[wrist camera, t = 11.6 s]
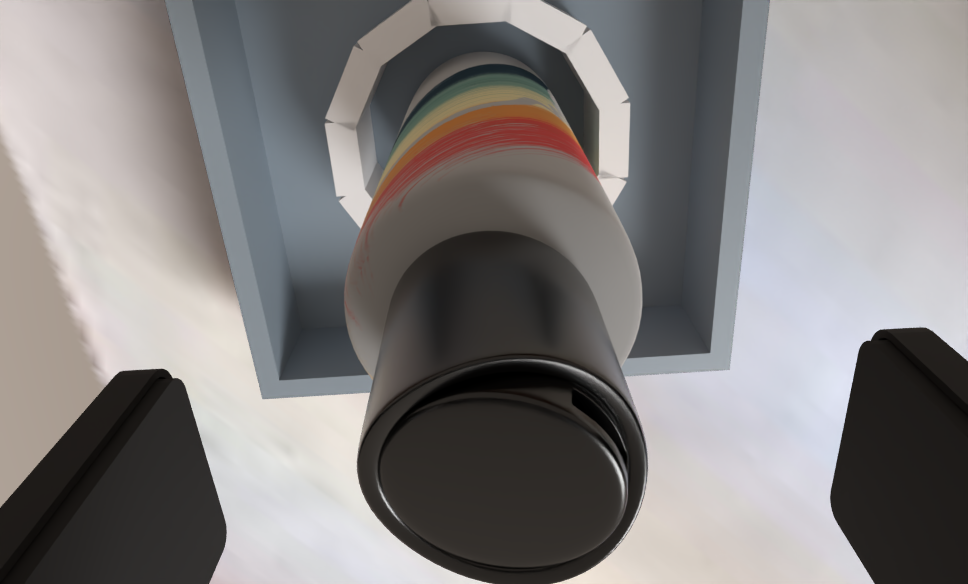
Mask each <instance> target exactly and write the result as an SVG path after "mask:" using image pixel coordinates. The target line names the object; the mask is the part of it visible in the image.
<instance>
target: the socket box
mask: <svg viewBox="0 0 968 584" xmlns="http://www.w3.org/2000/svg"><path fill="white" fill-rule="evenodd" d="M165 3H166V7H167V12H168V16H169V20H170V24H171V28H172V32H173V36H174V40H175V44H176V48H177V52H178V56H179V60H180V65H181V69H182V73H183V77H184V81H185V85H186V89H187V93H188V97H189V101H190V105H191V109H192V113H193V118H194V122H195V126H196V130H197V134H198V138H199V142H200V146H201V150H202V154H203V158H204V162H205V166H206V171H207V175H208V179H209V183H210V187H211V191H212V195H213V199H214V203H215V207H216V211H217V215H218V219H219V224H220V228H221V232H222V236H223V240H224V244H225V248H226V252H227V256H228V260H229V264H230V268H231V273H232V277H233V281H234V285H235V289H236V293H237V297H238V301H239V305H240V309H241V313H242V317H243V321H244V326H245V330H246V334H247V338H248V342H249V346H250V350H251V354H252V358H253V362H254V366H255V370H256V374H257V379H258V383H259V387H260V391H261V395H262V399H274V398H290V397H306V396H322V395H338V394H353V393H369V392H370V391H371V387H372V382H373V380H372V378H371V377H370V376H369V374H368V373H367V372H366V370H365V369H364V367H363V365H362V364H361V362H360V360H359V359H358V357H357V354H356V352H355V350H354V348H353V345H352V342H351V340H350V337H349V333H348V329H347V324H346V317H345V305H344V291H345V281H346V275H347V271H348V266H349V263H350V259H351V256H352V253H353V250H354V247H355V244H356V241H357V238H358V235H359V233H360V230H361V227H362V225H363V222H364V219H365V217H366V214H367V212H368V209H369V207H370V204H371V201H372V199H373V196H374V194H375V191H376V189H377V186H378V184H379V181H380V179H381V176H382V174H383V171H384V169H385V166H386V164H387V161H388V158H389V156H390V153H391V151H392V148H393V146H394V143H395V141H396V138H397V136H398V133H399V131H400V128H401V126H402V123H403V120H404V118H405V115H406V113H407V110H408V108H409V106H410V104H411V101H412V99H413V97H414V95H415V93H416V92H417V90H418V88H419V87H420V85H421V84H422V82H423V81H424V80H425V79H426V78H427V77H428V75H429V74H430V73H432V72H433V71H434V70H435V69H436V68H437V67H439V66H440V65H441V64H443V63H445V62H446V61H448V60H450V59H452V58H454V57H457V56H460V55H463V54H467V53H472V52H495V53H500V54H504V55H507V56H510V57H512V58H515V59H517V60H518V61H520V62H522V63H524V64H525V65H526V66H528V67H529V68H531V69H532V70H533V71H534V72H535V73H536V74H537V75H538V76H539V77H540V78H541V79H542V80H543V82H544V83H545V84H546V86H547V87H548V88H549V90H550V92H551V93H552V95H553V96H554V98H555V100H556V102H557V104H558V105H559V107H560V109H561V111H562V113H563V115H564V117H565V118H566V120H567V122H568V124H569V126H570V128H571V130H572V131H573V133H574V135H575V137H576V139H577V141H578V143H579V144H580V146H581V148H582V150H583V152H584V154H585V156H586V157H587V159H588V161H589V163H590V165H591V167H592V169H593V170H594V172H595V174H596V176H597V178H598V180H599V182H600V183H601V185H602V187H603V189H604V191H605V193H606V195H607V197H608V198H609V200H610V202H611V204H612V206H613V208H614V210H615V212H616V214H617V216H618V218H619V220H620V222H621V224H622V226H623V228H624V230H625V232H626V234H627V236H628V238H629V240H630V243H631V245H632V247H633V250H634V253H635V256H636V258H637V262H638V266H639V270H640V276H641V283H642V314H641V320H640V325H639V330H638V333H637V336H636V339H635V342H634V344H633V347H632V349H631V351H630V353H629V355H628V357H627V359H626V360H625V362H624V364H623V365H622V367H621V369H622V372H623V375H624V376H639V375H655V374H671V373H687V372H703V371H719V370H730V361H731V352H732V342H733V333H734V324H735V315H736V306H737V297H738V287H739V278H740V269H741V260H742V251H743V241H744V232H745V223H746V214H747V205H748V195H749V186H750V177H751V168H752V159H753V150H754V140H755V131H756V122H757V113H758V104H759V94H760V85H761V76H762V67H763V58H764V49H765V39H766V30H767V21H768V12H769V3H770V0H165Z"/></svg>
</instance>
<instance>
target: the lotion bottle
mask: <svg viewBox="0 0 968 584" xmlns="http://www.w3.org/2000/svg"><path fill="white" fill-rule="evenodd" d="M344 305H345V317H346V324H347V329H348V333H349V337H350V340H351V342H352V345H353V348H354V350H355V352H356V354H357V357H358V359H359V360H360V362H361V364H362V365H363V367H364V369H365V370H366V372H367V373H368V374H369V376H370V377H371V378H372V380H373V382H372V387H371V391H370V396H369V401H368V405H367V410H366V414H365V419H364V423H363V428H362V433H361V437H360V443H359V449H358V456H357V473H358V479H359V484H360V487H361V490H362V493H363V495H364V497H365V499H366V501H367V503H368V505H369V506H370V508H371V510H372V511H373V512H374V514H375V515H376V517H377V518H378V519H379V520H380V521H381V522H382V524H383V525H384V526H385V527H386V528H387V529H388V530H389V531H390V532H391V533H392V534H393V535H394V536H396V537H397V538H398V539H399V540H400V541H401V542H403V543H404V544H405V545H407V546H408V547H409V548H411V549H412V550H414V551H415V552H417V553H418V554H420V555H421V556H423V557H424V558H426V559H428V560H430V561H431V562H433V563H435V564H437V565H439V566H441V567H443V568H445V569H448V570H450V571H452V572H455V573H457V574H460V575H463V576H465V577H468V578H472V579H475V580H479V581H482V582H487V583H492V584H553V583H557V582H561V581H564V580H567V579H570V578H573V577H575V576H578V575H580V574H582V573H584V572H586V571H588V570H589V569H591V568H593V567H594V566H596V565H597V564H599V563H600V562H601V561H603V560H604V559H605V558H606V557H607V556H608V555H610V554H611V553H612V552H613V551H614V550H615V549H616V548H617V546H618V545H619V544H620V543H621V542H622V541H623V539H624V538H625V536H626V535H627V533H628V532H629V530H630V529H631V527H632V525H633V523H634V521H635V519H636V517H637V515H638V513H639V510H640V508H641V505H642V501H643V498H644V494H645V489H646V483H647V472H648V457H647V448H646V441H645V437H644V433H643V429H642V425H641V422H640V419H639V416H638V413H637V410H636V408H635V405H634V402H633V399H632V397H631V394H630V391H629V388H628V386H627V383H626V380H625V377H624V375H623V372H622V369H621V367H622V365H623V364H624V362H625V360H626V359H627V357H628V355H629V353H630V351H631V349H632V347H633V344H634V342H635V339H636V336H637V333H638V330H639V325H640V320H641V314H642V283H641V276H640V270H639V266H638V262H637V258H636V256H635V253H634V250H633V247H632V245H631V243H630V240H629V238H628V236H627V234H626V232H625V230H624V228H623V226H622V224H621V222H620V220H619V218H618V216H617V214H616V212H615V210H614V208H613V206H612V204H611V202H610V200H609V198H608V197H607V195H606V193H605V191H604V189H603V187H602V185H601V183H600V182H599V180H598V178H597V176H596V174H595V172H594V170H593V169H592V167H591V165H590V163H589V161H588V159H587V157H586V156H585V154H584V152H583V150H582V148H581V146H580V144H579V143H578V141H577V139H576V137H575V135H574V133H573V131H572V130H571V128H570V126H569V124H568V122H567V120H566V118H565V117H564V115H563V113H562V111H561V109H560V107H559V105H558V104H557V102H556V100H555V98H554V96H553V95H552V93H551V92H550V90H549V88H548V87H547V86H546V84H545V83H544V82H543V80H542V79H541V78H540V77H539V76H538V75H537V74H536V73H535V72H534V71H533V70H532V69H531V68H529V67H528V66H526V65H525V64H524V63H522V62H520V61H518V60H517V59H515V58H512V57H510V56H507V55H504V54H500V53H495V52H472V53H467V54H463V55H460V56H457V57H454V58H452V59H450V60H448V61H446V62H445V63H443V64H441V65H440V66H439V67H437V68H436V69H435V70H434V71H433V72H432V73H430V74H429V75H428V77H427V78H426V79H425V80H424V81H423V82H422V84H421V85H420V87H419V88H418V90H417V92H416V93H415V95H414V97H413V99H412V101H411V104H410V106H409V108H408V110H407V113H406V115H405V118H404V120H403V123H402V126H401V128H400V131H399V133H398V136H397V138H396V141H395V143H394V146H393V148H392V151H391V153H390V156H389V158H388V161H387V164H386V166H385V169H384V171H383V174H382V176H381V179H380V181H379V184H378V186H377V189H376V191H375V194H374V196H373V199H372V201H371V204H370V207H369V209H368V212H367V214H366V217H365V219H364V222H363V225H362V227H361V230H360V233H359V235H358V238H357V241H356V244H355V247H354V250H353V253H352V256H351V259H350V263H349V266H348V271H347V275H346V281H345V291H344Z"/></svg>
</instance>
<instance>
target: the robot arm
mask: <svg viewBox="0 0 968 584" xmlns="http://www.w3.org/2000/svg"><path fill="white" fill-rule="evenodd" d="M830 500H831V508H832V512H833V515H834V518H835V520H836V522H837V523H838V525H839V527H840V528H841V530H842V531H843V533H844V535H845V536H846V538H847V539H848V541H849V543H850V544H851V546H852V548H853V549H854V551H855V552H856V554H857V556H858V557H859V559H860V561H861V562H862V564H863V565H864V567H865V569H866V570H867V572H868V573H869V575H870V577H871V578H872V580H873V582H874V583H875V584H968V361H967V360H966V359H964V358H963V357H962V356H961V355H960V354H959V353H957V352H956V351H955V350H954V349H953V348H951V347H950V346H949V345H948V344H947V343H946V342H944V341H943V340H942V339H941V338H940V337H938V336H937V335H936V334H935V333H934V332H933V331H931V330H929V329H927V328H902V329H884V330H879V331H877V332H876V333H875V334H874V336H873V337H872V339H871V341H866V342H864V343H863V344H862V345H861V347H860V349H859V353H858V358H857V363H856V368H855V373H854V378H853V383H852V388H851V393H850V398H849V403H848V408H847V413H846V418H845V423H844V428H843V433H842V438H841V443H840V448H839V453H838V458H837V463H836V468H835V473H834V478H833V483H832V488H831V495H830ZM226 534H227V531H226V522H225V519H224V515H223V512H222V508H221V505H220V502H219V498H218V495H217V492H216V488H215V485H214V482H213V478H212V475H211V472H210V468H209V465H208V461H207V458H206V455H205V451H204V448H203V445H202V441H201V438H200V435H199V431H198V428H197V425H196V421H195V418H194V414H193V411H192V408H191V404H190V401H189V398H188V394H187V391H186V388H185V385H184V383H183V382H182V381H181V380H180V379H178V378H172V376H171V375H170V373H169V372H168V371H167V370H165V369H149V370H131V371H121V372H119V373H118V374H117V375H115V377H114V378H113V379H112V380H111V381H110V382H109V383H108V385H107V386H106V387H105V388H104V389H103V390H102V391H101V393H100V394H99V395H98V397H96V398H95V400H94V401H93V402H92V403H91V404H90V405H89V406H88V408H87V409H86V410H85V411H84V412H83V413H82V414H81V416H80V417H79V418H78V419H77V421H75V423H74V424H73V425H72V426H71V427H70V428H69V429H68V431H67V432H66V433H65V434H64V435H63V436H62V438H61V439H60V440H59V441H58V442H57V443H56V444H55V446H54V447H53V448H52V449H51V450H50V451H49V453H48V454H47V455H46V456H45V457H44V458H43V460H41V462H40V463H39V464H38V465H37V466H36V467H35V468H34V470H33V471H32V472H31V473H30V474H29V475H28V477H27V478H26V479H25V480H24V481H23V482H22V484H21V485H20V486H19V487H18V488H17V489H16V490H15V492H14V493H13V494H12V495H11V496H10V497H9V498H8V500H7V501H6V502H5V503H4V504H3V505H2V506H1V508H0V584H209V582H210V580H211V578H212V575H213V573H214V571H215V569H216V566H217V564H218V562H219V559H220V557H221V555H222V552H223V550H224V547H225V543H226Z"/></svg>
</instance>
